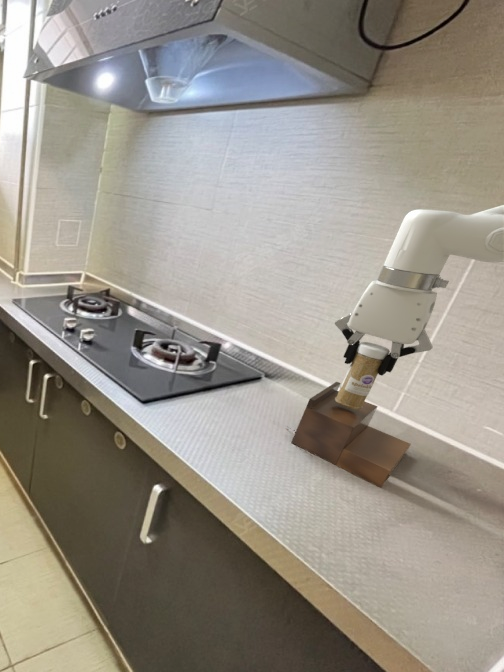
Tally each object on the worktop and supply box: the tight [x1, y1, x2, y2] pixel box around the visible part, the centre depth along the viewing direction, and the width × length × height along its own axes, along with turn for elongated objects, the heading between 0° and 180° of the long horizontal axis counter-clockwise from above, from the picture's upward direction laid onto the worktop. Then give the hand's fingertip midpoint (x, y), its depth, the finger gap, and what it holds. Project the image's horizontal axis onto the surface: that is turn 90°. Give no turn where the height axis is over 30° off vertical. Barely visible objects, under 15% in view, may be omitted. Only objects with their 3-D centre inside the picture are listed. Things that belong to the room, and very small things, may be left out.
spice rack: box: [290, 381, 412, 489], centre depth 81 cm, size 15×16×11 cm
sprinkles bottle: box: [335, 341, 391, 410], centre depth 79 cm, size 5×5×14 cm
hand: (365, 367), depth 78 cm, fingers closed on sprinkles bottle, 4 cm apart
